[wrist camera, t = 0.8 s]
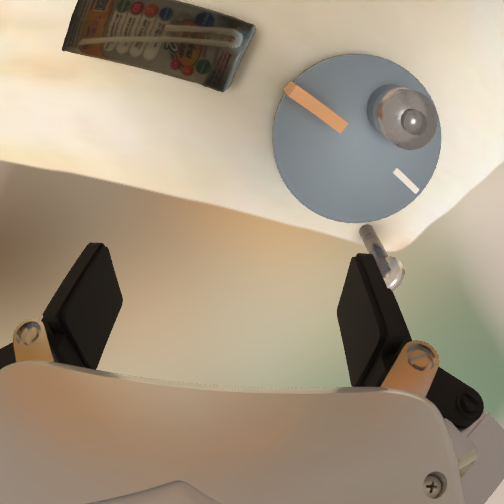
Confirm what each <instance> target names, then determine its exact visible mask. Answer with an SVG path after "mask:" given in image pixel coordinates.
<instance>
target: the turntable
mask: <svg viewBox="0 0 504 504" xmlns="http://www.w3.org/2000/svg"><path fill="white" fill-rule="evenodd" d="M387 84H393V85H398V86H401V87H405V88H408V89H412V90H415V91H418V92H420V93H422V94H424V95H425V96H427V97H428V98H429V99H430V100H431V102H432V103H433V101H432V99H431V97H430V95H429V94H428V92H427V91H426V89H425V88H424V86H423V85H422V84H421V83H420V82H419V81H418V79H417V78H415V77H414V76H413V75H412V74H411V73H410V72H409V71H407V70H406V69H404V68H403V67H401V66H400V65H398V64H396V63H394V62H392V61H390V60H387V59H384V58H381V57H377V56H371V55H362V54H349V55H341V56H336V57H332V58H329V59H326V60H324V61H321V62H319V63H317V64H315V65H313V66H312V67H310V68H309V69H307V70H306V71H304V72H303V73H302V74H301V75H300V76H299V77H297V79H296V80H295V81H294V82H291V81H289V83H288V84H287V85H286V87H285V88H284V89H283V90H284V91H285V94H284V96H283V97H282V100H281V102H280V104H279V106H278V109H277V112H276V115H275V119H274V125H273V149H274V156H275V160H276V164H277V167H278V170H279V172H280V175H281V177H282V179H283V181H284V182H285V184H286V186H287V187H288V189H289V190H290V191H291V193H292V194H293V195H294V196H295V197H296V198H297V199H298V200H299V201H300V202H301V203H302V204H303V205H305V206H306V207H307V208H308V209H310V210H312V211H313V212H315V213H317V214H319V215H321V216H323V217H326V218H328V219H332V220H335V221H339V222H346V223H364V222H371V221H376V220H380V219H383V218H386V217H388V216H390V215H392V214H395V213H397V212H398V211H400V210H401V209H403V208H405V207H406V206H407V205H408V204H410V203H411V202H412V201H413V200H414V199H415V198H416V197H417V196H418V195H419V194H420V193H421V192H422V191H423V189H424V188H425V187H426V185H427V184H428V182H429V180H430V179H431V177H432V175H433V173H434V170H435V168H436V165H437V162H438V159H439V154H440V148H441V127H440V122H439V117H438V114H437V128H436V132H435V134H434V136H433V138H432V139H431V141H430V142H429V143H428V144H426V145H425V146H424V147H422V148H420V149H416V150H405V149H402V148H399V147H398V146H396V145H395V144H393V143H392V142H391V141H389V140H388V139H387V138H385V137H384V136H382V135H381V134H380V133H378V132H377V131H376V130H375V129H374V128H373V127H372V126H371V124H370V122H369V120H368V117H367V111H366V108H367V102H368V99H369V97H370V95H371V94H372V93H373V92H374V90H376V89H377V88H379V87H380V86H383V85H387ZM433 105H434V103H433ZM434 107H435V105H434ZM435 109H436V107H435ZM436 113H437V111H436Z"/></svg>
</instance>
